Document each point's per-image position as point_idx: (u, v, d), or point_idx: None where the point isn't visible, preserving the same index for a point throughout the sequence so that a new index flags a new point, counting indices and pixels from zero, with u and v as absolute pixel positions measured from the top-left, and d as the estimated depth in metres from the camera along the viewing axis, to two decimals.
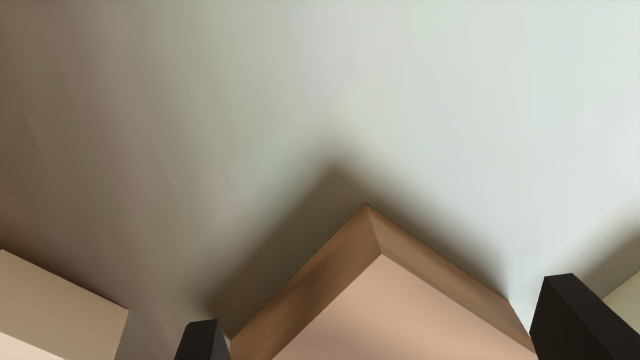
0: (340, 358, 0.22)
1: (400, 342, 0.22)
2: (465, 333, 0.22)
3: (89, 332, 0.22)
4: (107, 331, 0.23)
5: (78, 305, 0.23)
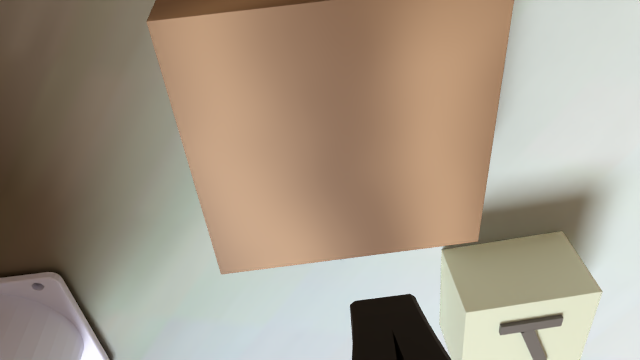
0: (336, 79, 0.15)
1: (407, 114, 0.16)
2: (462, 158, 0.18)
3: None
4: None
5: None
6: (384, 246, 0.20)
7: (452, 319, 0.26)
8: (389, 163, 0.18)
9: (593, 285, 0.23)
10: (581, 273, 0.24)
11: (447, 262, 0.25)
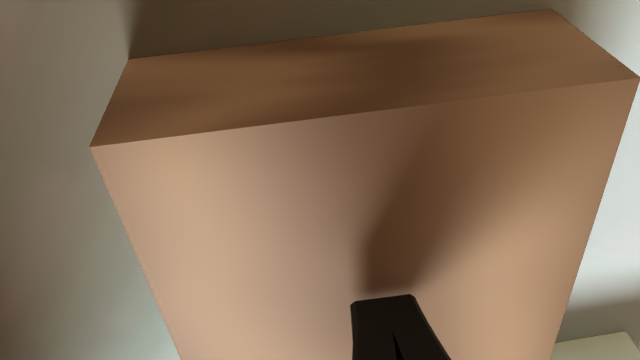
0: (368, 210, 0.11)
1: (465, 247, 0.12)
2: (533, 293, 0.13)
3: None
4: None
5: None
6: None
7: None
8: (436, 303, 0.13)
9: None
10: None
11: None
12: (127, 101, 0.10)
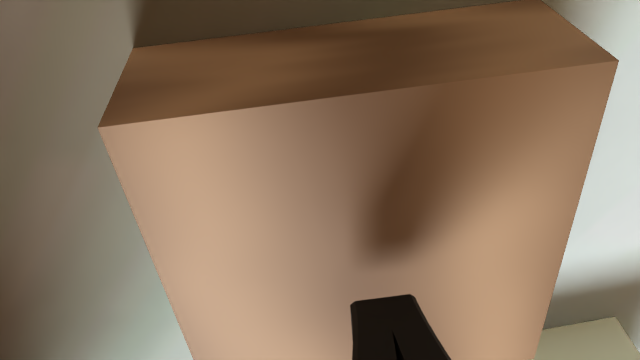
0: (362, 190, 0.11)
1: (455, 226, 0.12)
2: (522, 272, 0.14)
3: None
4: None
5: None
6: None
7: None
8: (428, 281, 0.13)
9: None
10: None
11: None
12: (133, 85, 0.11)
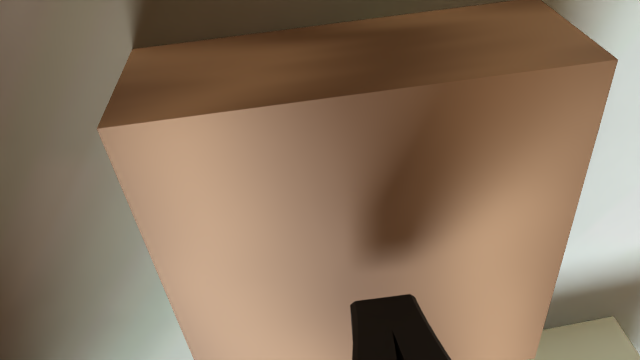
0: (362, 190, 0.11)
1: (455, 226, 0.12)
2: (522, 271, 0.14)
3: None
4: None
5: None
6: None
7: None
8: (428, 281, 0.13)
9: None
10: None
11: None
12: (132, 86, 0.11)
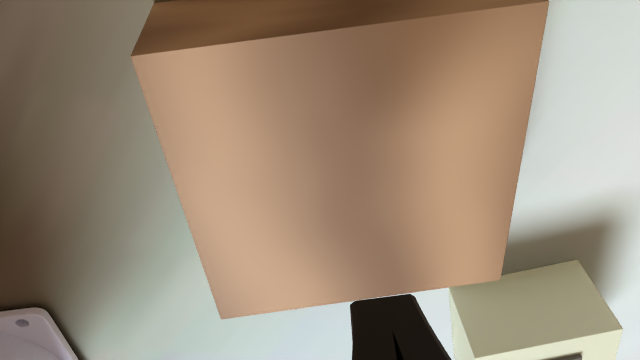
0: (345, 114, 0.14)
1: (424, 149, 0.15)
2: (484, 194, 0.16)
3: None
4: None
5: None
6: (398, 287, 0.18)
7: (464, 359, 0.24)
8: (404, 201, 0.16)
9: (613, 322, 0.21)
10: (599, 308, 0.22)
11: (454, 300, 0.24)
12: (156, 28, 0.14)
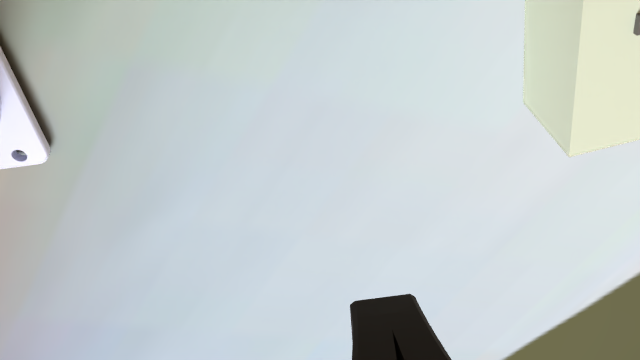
0: None
1: None
2: None
3: None
4: None
5: None
6: None
7: (551, 51, 0.17)
8: None
9: None
10: None
11: None
12: None
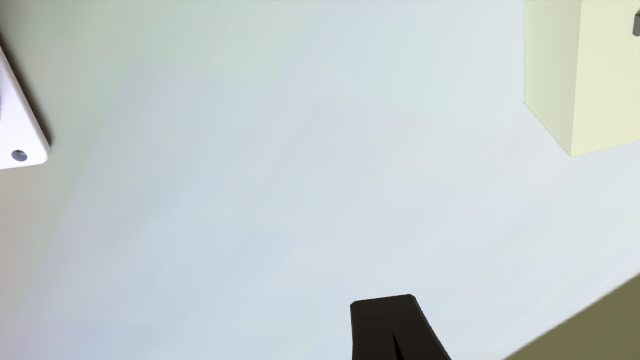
0: None
1: None
2: None
3: None
4: None
5: None
6: None
7: (551, 53, 0.17)
8: None
9: None
10: None
11: None
12: None
